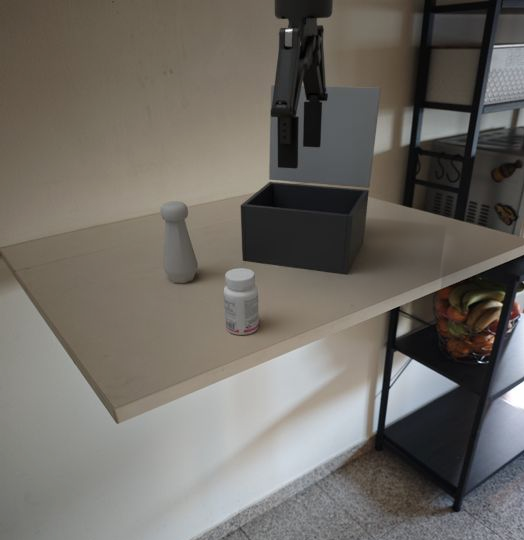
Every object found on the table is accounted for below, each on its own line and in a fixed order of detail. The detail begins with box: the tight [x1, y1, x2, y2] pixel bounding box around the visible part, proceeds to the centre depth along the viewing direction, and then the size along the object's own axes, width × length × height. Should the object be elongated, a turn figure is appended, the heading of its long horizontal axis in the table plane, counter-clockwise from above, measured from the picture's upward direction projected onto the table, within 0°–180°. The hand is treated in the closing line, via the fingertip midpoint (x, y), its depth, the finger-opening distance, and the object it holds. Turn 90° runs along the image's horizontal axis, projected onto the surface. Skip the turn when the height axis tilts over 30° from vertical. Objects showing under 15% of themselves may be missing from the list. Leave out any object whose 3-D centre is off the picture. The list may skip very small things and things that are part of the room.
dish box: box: [240, 181, 370, 275], centre depth 92 cm, size 16×20×10 cm
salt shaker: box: [159, 200, 199, 284], centre depth 82 cm, size 6×6×13 cm
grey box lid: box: [268, 84, 382, 189], centre depth 91 cm, size 16×20×1 cm
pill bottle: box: [223, 267, 260, 336], centre depth 70 cm, size 5×5×8 cm
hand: (300, 156), depth 75 cm, fingers open, 13 cm apart
